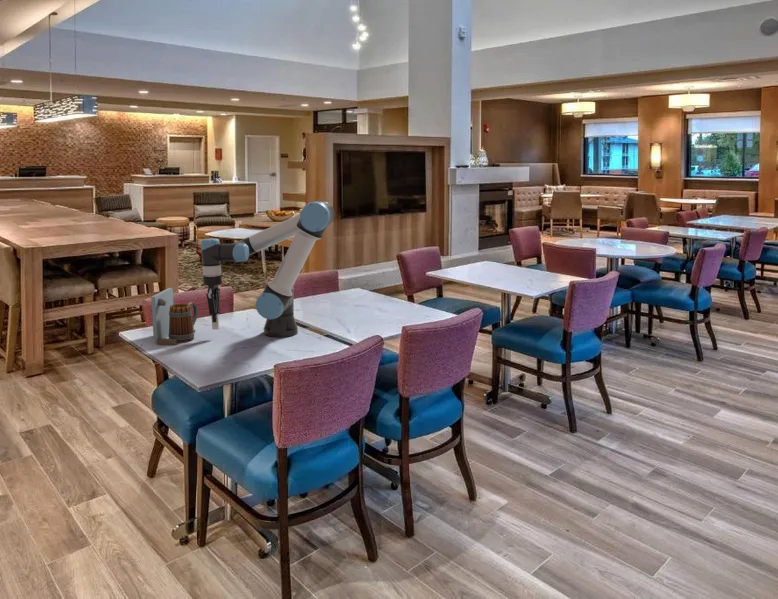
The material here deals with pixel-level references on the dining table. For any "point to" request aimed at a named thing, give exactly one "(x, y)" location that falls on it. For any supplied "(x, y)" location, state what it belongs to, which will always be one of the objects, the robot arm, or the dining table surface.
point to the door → (161, 313)
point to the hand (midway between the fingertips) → (215, 328)
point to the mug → (182, 322)
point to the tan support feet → (167, 341)
